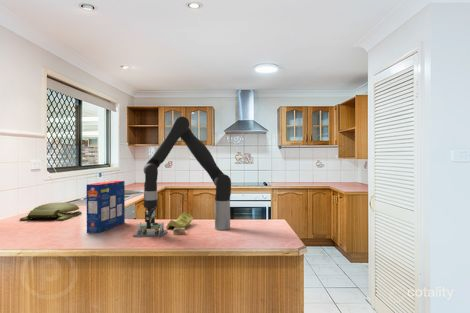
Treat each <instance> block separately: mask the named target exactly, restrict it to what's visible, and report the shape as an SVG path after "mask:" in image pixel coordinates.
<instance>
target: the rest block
mask: <svg viewBox="0 0 470 313" xmlns="http://www.w3.org/2000/svg"><path fill="white" fill-rule="evenodd" d="M172 233H173V234H172V235H176V236H177V235H185V233H186V228H176V227H174V228H173V231H172Z"/></svg>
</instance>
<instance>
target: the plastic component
mask: <svg viewBox="0 0 470 313" xmlns="http://www.w3.org/2000/svg"><path fill="white" fill-rule="evenodd" d="M193 220H194V217H193V216H192V215H191V214H189V213H187V212H185V211H183V212H182V213H181V214H180V215H179V216H178V218H176V220H173V219H171V220H170V221H169V222H168V223H167V226H166V230H168V229H170V228H171V227H174V228H185V229H186V228H187V227H188V226H189V225H190V224H191V222H192V221H193Z"/></svg>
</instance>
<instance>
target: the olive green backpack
mask: <svg viewBox="0 0 470 313" xmlns="http://www.w3.org/2000/svg"><path fill="white" fill-rule="evenodd" d="M70 212H71V213H70ZM65 213H69V214H65ZM82 213H83V212H82V211H80V207H79V205H76V204H75V203H70V202H50V203H45V204H41V205H38V206H36V207H34V208H33V209H32V210H30V211H29V213H28V214H27V215H26V216H23V217H20V218H19V221H20V222H26V221H29V220H33V219H37V218H41V219H43V218H44V219H45V218H56V221H58V222H65V221H66V220H69V219H71V218H74V217H77V216H79V215H81V214H82ZM57 217H58V218H57Z"/></svg>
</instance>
